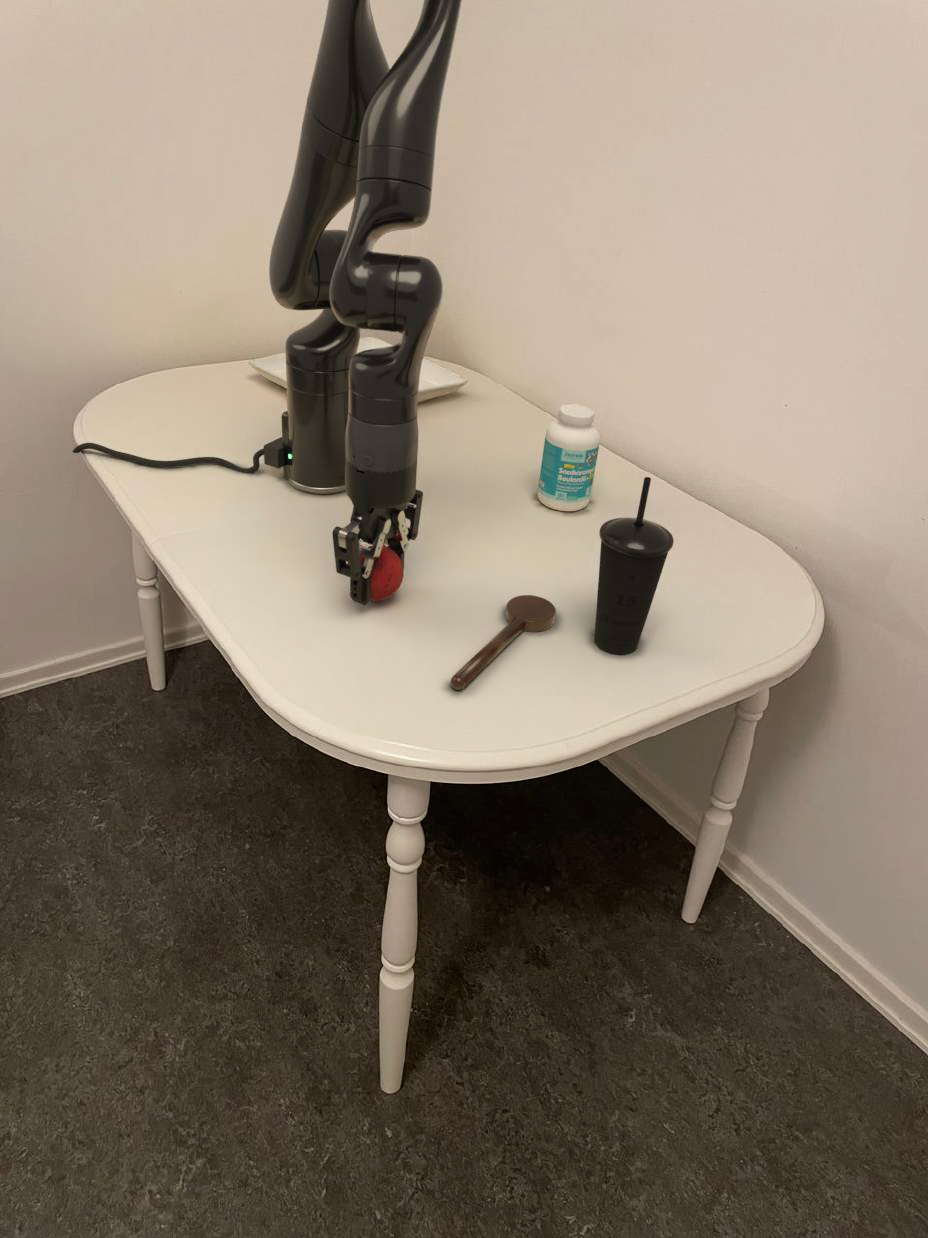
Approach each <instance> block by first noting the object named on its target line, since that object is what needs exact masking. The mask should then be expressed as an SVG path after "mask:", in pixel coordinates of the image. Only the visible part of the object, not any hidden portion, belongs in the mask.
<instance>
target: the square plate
mask: <svg viewBox="0 0 928 1238" xmlns="http://www.w3.org/2000/svg"><path fill="white" fill-rule="evenodd" d="M392 345H393V344H391V343H389V342H387V341H384V340H381V339H379V338H377V337H374V336H365V337H360V341H359V346H358V350H357V353H359V352H362V351H365V350H370V349H375V348H383V347H389V346H392ZM248 365H250V366H251V367H252V368H253V369H254V370H255V371H256V372H257V373H258V374H260V376H262V377H264V378H266V379H267V380H269V381H271V382H273V383H274V384H277V385H279V386H281V387H283V388H284V389H285V390H287V383H286V353H285V352H280V353H276V354H271V355H267V356H264V357H259V358H255V359H251V360H248ZM468 381H469V380H468V379H467V378H465V377H464V376H461V375H459V374H457V373H455V372H453V371H451V370H449V369H447V368H445V367H442V366H440V365H439V364H437V363H435V362H433V361H430V360H428V359H426V358H424V357H423V360H422V364H421V370H420V378H419V389H418V404H419V403H423V402H425V401H428V400H431V399H435V398H438V397H442V396H446V395H449V394H452V393H454V392H456V391H458V390H459V389H461V388H463V386H465V385H466V384H467V383H468Z"/></svg>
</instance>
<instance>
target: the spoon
mask: <svg viewBox="0 0 928 1238" xmlns="http://www.w3.org/2000/svg"><path fill="white" fill-rule="evenodd" d="M556 610H557V609H556V606H555V605H554V604H553V603H552V602H551V601H550V600H548V599H546V598H544V597H542V596H538V595H533V594H532V595H531V594H523V595H517V596H514V597H512V598H511V599H509V601H508V602H507V603H506V607H505V620H506V622H507V624H506V625H505V627H504V628H502V629H501V630H500V631H499V632H498V633H497V634H496V635H495V636H494V637H493V638H491V640H489V641H488V642H487V643H486V644H485V645H484V646H483V647H482V648H481V649H480V650H479V651H478V652H477V653H476V654H474V655H473V657H472V658H470V659H469V660H468V661H467V662H466V663H465V664H464V665H463V666H462V667H461V668H460V669H459V670H458V671H456V672H455V674H453V675H452V677H451V678H450V686H451V687H452V688H453V689H454V690H457V691H461V690H464V688H465V687H466V686H467V685H468V684H470V682H472V681H473V679H475V678H476V677H477V676H478V675H479V673H481V672H482V671H483V670H484V669H485V668H486V667H487V666H488V665H489V664H490V663H491V662H492V661H493V660H494V659H496V658H497V656H498V655H499V654H500V653H501V652H502V651H503V650H504V649H505V648H506V647H507V646H508V645H509V644H510V643H511V642H512V641H514V640H515V638H516V637H518V636H519V635H520V634H521V633H522V632H526V633H527V632H529V633H540V632H544V631H547V630H549V629H551V628H552V627H553V626H554V624H555V620H556V612H557V611H556Z"/></svg>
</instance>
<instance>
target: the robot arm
mask: <svg viewBox="0 0 928 1238" xmlns="http://www.w3.org/2000/svg"><path fill="white" fill-rule="evenodd" d="M462 2H463V0H423V4H422V8H421V12H420V15H419V19H418V21H417V23H416V27H415V29H414V31H413V33H412V35H411V36H410V38H409V40H408V42H407V43H406V45H405V47H404V48H403V50H402V51H401V53H400V55H399V56H398V57H397V58H396V60H395V62H394V63H393V65H392V66H391V67H390V65H389V63H388V60H387V57H386V55H385V52H384V50H383V47H382V44H381V41H380V38H379V35H378V31H377V29H376V25H375V21H374V16H373V11H372V7H371V1H370V0H328V3H327V9H326V13H325V19H324V24H323V29H322V33H321V38H320V42H319V47H318V51H317V56H316V60H315V64H314V69H313V72H312V77H311V81H310V85H309V89H308V93H307V98H306V103H305V108H304V113H303V118H302V123H301V128H300V136H299V141H298V148H297V153H296V159H295V162H294V163H295V164H294V168H293V172H292V177H291V182H290V186H289V190H288V193H287V196H286V200H285V203H284V206H283V208H282V213H281V215H280V218H279V222H278V225H277V228H276V231H275V234H274V238H273V241H272V245H271V249H270V255H269V262H268V263H269V266H268V274H269V275H268V277H269V278H268V279H269V284H270V289H271V293H272V295H273V297H274V300H275V301H276V302H277V303H278V304H279V306H280V307H282V308H284V309H286V310H291V311H297V312H298V311H316V310H319V311H320V310H322V311H321V312H320V313H319V314H318V316H317V317H316V318H314V320H313V321H311V322H310V323H308V324H306V325H304V326H302V327H301V328H299V329H296V330H294V331H293V332H292V333H290V335H288V337H286V340H285V346H284V348H285V353H286V383H287V389H286V411H284V412H282V414H281V418H280V419H281V436H280V437H278V438H275V439H274V440H272V441H270V442H267V443H266V444H264V445H263V448H261V449H259V450H257V451H256V452H254V454H253V457H252V463H253V465H252V466H250V467H248V468H247V467H245V468H244V467H240V466H239V465H236V464H234V463H233V462H231V461H229V460H227V459H224V458H221V457H216V456H198V457H191V458H189V457H188V458H183V459H177V460H158V459H150V458H145V457H142V456H139V455H134V454H131V453H128V452H122V451H119V450H115V449H112V448H109V447H106V446H104V445H102V444H99V443H94V442H83V443H81V444H79V445H77V446H75V448H73V450H71V451H72V452H71V453H73V454H79V453H81V452H83V451H84V450H94V451H98V452H101V453H103V454H106V455H109V456H111V457H115V458H117V459H123V460H126V461H131V462H134V463H137V464H141V465H145V466H150V467H156V468H172V467H173V468H177V467H184V466H190V465H191V466H192V465H196V464H197V465H198V464H216V465H221V466H223V467H225V468H228V469H229V470H231V471H235V472H239V473H242V474H251V475H252V474H254V473H255V472H257V471H258V470H259V469H260V466H261V465H260V459H261V457H262V456H263V461H264V463H263V464H264V465H267V466H269V467H272V468H275V469H277V470H278V469H280V468H281V469H282V476H283V479H286V480H288V482H289V484H290V485H291V486H292V487H294V488H295V489H297V490H300V491H302V492H304V493H305V492H306V493H309V494H316V495H317V494H318V495H320V494H321V495H328V494H336V493H341V492H344V491H345V494H346V495H347V497H348V498H349V499H350V502H351V503H352V506H353V507H352V512H351V516H350V520H349V521H350V522H349V523H348V524H346V526H345V527H341V526H339V525H336V526H335V527H334V528H333V529H332V534H331V535H332V544H333V552H334V553H333V554H334V563H335V570H336V573H337V574H339V575H342V576H345V577H347V578H349V597H350V599H351V600H352V601H353V602H355V603H357V604H359V605H362V606H367V605H368V604H369V603H370V602H371V601H372V600H371V575H370V573H371V570H372V566H373V563H374V560H375V559H376V558H378V557H379V556H380V553H381V549H382V546H383V542H384V541H386V542H385V546H387V547H389V548H390V549H392V550H393V551H394V552H395V553H396V554H397V555H398V556H399V558H400V559H401V562H402V566H403V572H404V571H405V570H404V569H405V557H406V556H405V553H406V552H407V550H408V548H409V547H410V546H409V545H410V543H409V542H410V541H415V540H416V539H417V538H418V535H419V526H420V519H421V513H422V505H423V498H424V492H423V491H422V490H419V489H417V476H418V475H417V472H418V458H419V457H418V456H419V455H418V454H419V424H418V423H419V422H418V407H419V403H418V389H419V378H420V370H421V364H422V360H423V358H424V355H425V351H426V348H427V346H428V342H429V339H430V336H431V333H432V331H433V328H434V325H435V322H436V320H437V318H438V314H439V312H440V308H441V304H442V301H443V294H444V282H443V278H442V275H441V273H440V270H439V268H438V267H437V265H436V264H435V263H434V261H432V260H431V259H429V258H427V257H425V256H419V255H412V254H411V255H410V254H398V253H389V252H379V251H373V249H374V247H375V245H376V244H377V242H378V241H379V240H380V238H381V237H383V236H384V235H386V234H389V233H391V232H397V231H403V230H412V229H417V228H420V227H423V226H424V225H425V224H426V223H427V222H428V220H429V217H430V212H431V208H432V207H431V206H432V195H433V194H432V193H433V192H432V191H433V184H434V174H435V173H434V171H435V170H434V169H435V161H436V147H437V135H438V125H439V119H440V113H441V107H442V101H443V95H444V90H445V86H446V81H447V76H448V71H449V68H450V67H449V66H450V62H451V57H452V52H453V48H454V43H455V37H456V33H457V28H458V22H459V17H460V13H461V12H460V11H461V7H462ZM353 200H354V201H353ZM352 201H353V207H352V212H351V217H350V220H349V224H348V226H347V230H344V229H326V228H327V227H328V225H329V224H330V223H331V221H332V220H333V219H334V218H335V217H336V216H337V215H338V214H339V213H340V212H341V211H342V210H343V209H344V208H346V206H348V205H349V204H350V203H351V202H352ZM361 330H370V331H377V332H378V331H379V332H387V333H388V332H391V333H399V334H402V337H401V339H400V340H399V341H398V342H397V343H396V344H391V345H392V346H389V347H383V348H375V349H370V350H365V351H362V352H359V353H357V350H358V346H359V341H360V338H361ZM406 519H407V520H409V522H410V524H409V527H408V526H407V523H406ZM362 542H363V543H367V544H369V545H370V546H372V545H373V546H372V548H371V549H370V548H367V547H368V546H364V545H362V544H361V543H362ZM360 554H362V555H364V556H365V561H364V564H363V565H361V564H360Z"/></svg>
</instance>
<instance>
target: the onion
mask: <svg viewBox="0 0 928 1238" xmlns="http://www.w3.org/2000/svg"><path fill="white" fill-rule="evenodd" d="M385 542H386V541H384V542H383V546H382V549H381V553H380V556H379V557H378V558H376V559H375V560H374V563H373V566H372V570H371V573H370V575H371V600H370V601H373V602H381V601H383V600H385V599H387V598H389V597H390V596H392V595H393V594H395V593H396V592H397V591H398V590H399V588H400V587H401V585H402V583H403V580H404V571H403V566H402V562H401V559H400V558H399V556H398V555H397V554H396V553H395V552H394V551H393V550H392V549H390V548H389V547H387V546H388V545H386V543H385ZM372 546H373V545H369V546H366V547H367V548H370V549H371V548H372ZM364 561H365V556H364V555H362V554H360V564H361V565H363V564H364Z"/></svg>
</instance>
